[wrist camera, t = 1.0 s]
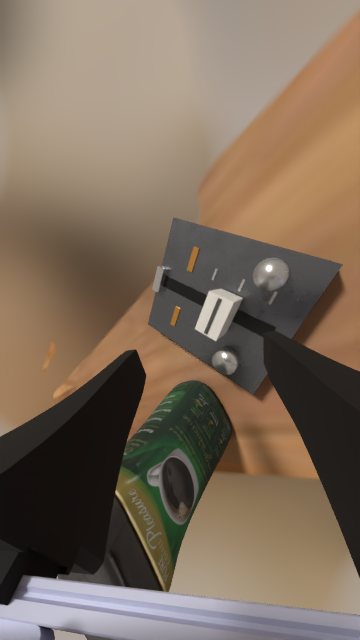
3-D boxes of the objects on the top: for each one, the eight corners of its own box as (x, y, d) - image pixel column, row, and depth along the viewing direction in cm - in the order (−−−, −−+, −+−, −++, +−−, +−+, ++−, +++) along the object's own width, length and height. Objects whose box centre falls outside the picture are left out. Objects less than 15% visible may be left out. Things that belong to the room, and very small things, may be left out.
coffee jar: (169, 384, 28) (25, 510, 13) (207, 372, 24) (50, 545, 9) (198, 439, 27) (78, 640, 12) (242, 438, 23) (137, 758, 8)
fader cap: (243, 298, 16) (233, 302, 14) (226, 332, 18) (215, 341, 16) (221, 288, 17) (208, 290, 15) (207, 321, 19) (194, 329, 17)
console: (337, 265, 14) (347, 263, 11) (256, 384, 20) (250, 402, 17) (183, 221, 21) (165, 214, 18) (157, 321, 27) (141, 326, 24)
